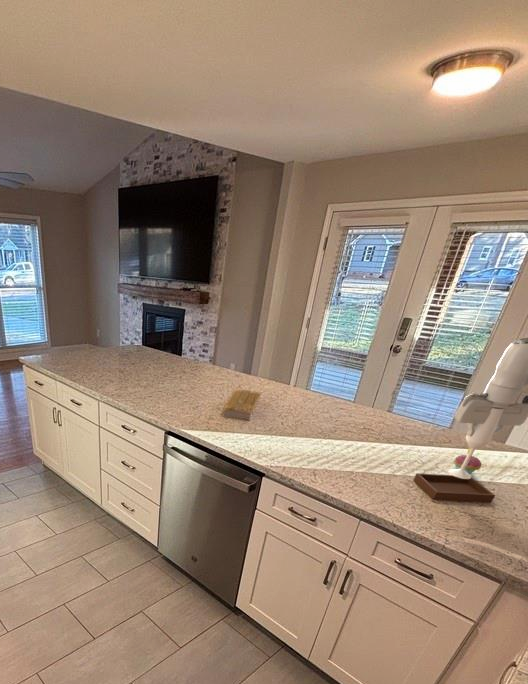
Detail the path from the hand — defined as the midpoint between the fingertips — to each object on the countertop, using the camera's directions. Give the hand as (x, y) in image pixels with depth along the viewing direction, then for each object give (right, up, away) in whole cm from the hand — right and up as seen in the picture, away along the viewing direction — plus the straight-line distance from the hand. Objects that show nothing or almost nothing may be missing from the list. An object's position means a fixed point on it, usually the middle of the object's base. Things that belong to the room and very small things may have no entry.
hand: (479, 436), depth 135 cm
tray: (-1, -17, +12) cm, 21 cm away
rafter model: (-59, +29, +78) cm, 102 cm away
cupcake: (+13, -10, +24) cm, 29 cm away
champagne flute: (-1, -12, +8) cm, 14 cm away
